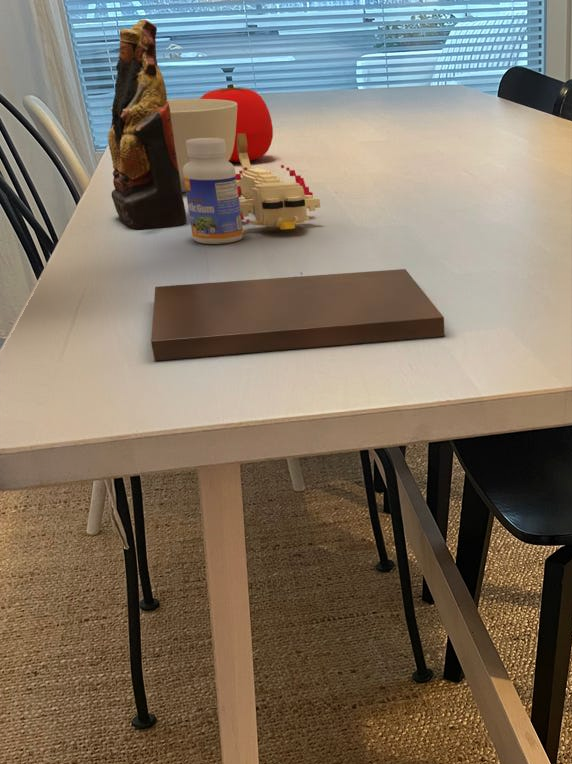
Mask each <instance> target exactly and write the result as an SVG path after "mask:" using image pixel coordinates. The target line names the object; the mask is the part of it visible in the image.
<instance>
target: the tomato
mask: <svg viewBox="0 0 572 764" xmlns="http://www.w3.org/2000/svg"><path fill="white" fill-rule="evenodd" d="M252 89H253V90H252ZM254 89H255V88H252V87H251V89H250V88H246V87H242V86H240V87H235V86H234V84H233V83H231V84H230V83H229V84H228V87H221V88H220V87H219V88H215V89H213V90H210V89H209V90H208V92H206V93H203V95H202V96H201V97H200V98H199V99H217V100H228V101H233V102H236V103H237V120H236V134H235V143H234V149H233V152H232V155H231V158H230V160H229V162H230V163H241V162H240V158H239V155H238V150H237V134H245V135H246V139H247V155H248V158H249V161H250V162H251V161H256V160H258V159H260V158H262V157H264V156H265V155H266V154H267V153H268V152H269V149H270V147H271V145H272V141H273V137H274V127H273V121H272V117H271V114H270V113H271V112H270V110H269V107H268V106H267V104H266V102H265V100H264V99H263V97H262V96H261V95H260V94H259V93H257V92H256V91H255V90H254Z"/></svg>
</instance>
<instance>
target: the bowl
mask: <svg viewBox="0 0 572 764" xmlns="http://www.w3.org/2000/svg"><path fill="white" fill-rule="evenodd" d="M167 101H168V103H169V108H170V114H171V123H172V129H173V136H174V143H175V150H176V156H177V163H178V168H179V174H180V182H181V190H182V193H186V189H185V183H184V176H183V167H184V166H185V164H187V163H189V162H190V156H188V155H187V154H188V153H187V148H186V140H190V139H196V138H220V139H224V140H225V145H226V150H227V152H226V155H225V160H226V161H228V162H229V160H230V158H231V155H232V152H233V149H234V143H235V134H236V120H237V103H236V102H233V101H228V100H217V99H200V98H173V99H171V98H170V99H168V98H167ZM110 111H111V112H112V106H110Z"/></svg>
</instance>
